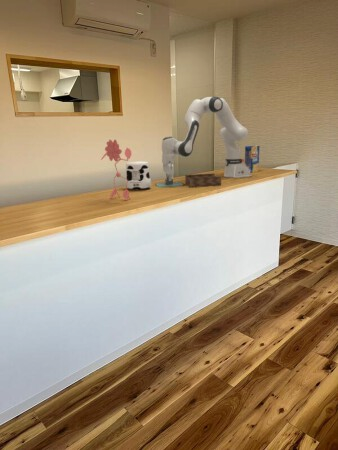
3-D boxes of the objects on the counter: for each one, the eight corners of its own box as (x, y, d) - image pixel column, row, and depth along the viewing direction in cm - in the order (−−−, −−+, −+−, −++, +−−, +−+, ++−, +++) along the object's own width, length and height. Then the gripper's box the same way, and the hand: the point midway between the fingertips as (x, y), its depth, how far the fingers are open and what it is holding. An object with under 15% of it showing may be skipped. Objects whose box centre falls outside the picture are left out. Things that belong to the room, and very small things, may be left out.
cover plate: (179, 183, 246) (179, 177, 244) (183, 186, 235) (183, 179, 233) (155, 185, 242) (155, 178, 241) (158, 188, 231) (158, 181, 230)
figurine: (111, 195, 208) (105, 138, 197) (141, 200, 192) (136, 138, 181) (92, 200, 196) (85, 140, 185) (122, 206, 181) (116, 140, 170)
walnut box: (214, 182, 244) (214, 173, 242) (221, 185, 230) (221, 176, 228) (185, 184, 240) (185, 175, 238) (190, 187, 226) (190, 178, 224)
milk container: (143, 185, 238) (142, 160, 233) (156, 189, 224) (154, 162, 219) (121, 188, 229) (120, 162, 224) (133, 192, 215) (131, 164, 210)
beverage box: (258, 171, 290) (259, 145, 284) (250, 172, 284) (251, 146, 277) (251, 170, 295) (253, 145, 289) (244, 172, 289) (245, 146, 282)
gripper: (176, 161, 224) (176, 182, 228) (169, 159, 243) (170, 177, 247) (167, 162, 223) (167, 182, 227) (161, 159, 242) (162, 178, 246)
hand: (169, 180), depth 237 cm, fingers open, 6 cm apart
